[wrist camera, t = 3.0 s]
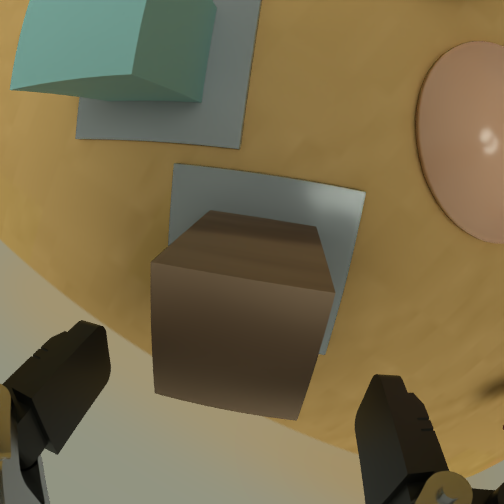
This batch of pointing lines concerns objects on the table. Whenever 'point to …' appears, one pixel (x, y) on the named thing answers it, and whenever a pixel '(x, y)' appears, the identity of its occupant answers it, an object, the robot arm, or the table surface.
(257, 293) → the walnut block
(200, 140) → the code tile
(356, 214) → the code tile
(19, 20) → the table surface
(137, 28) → the teal block
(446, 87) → the pink round disc
